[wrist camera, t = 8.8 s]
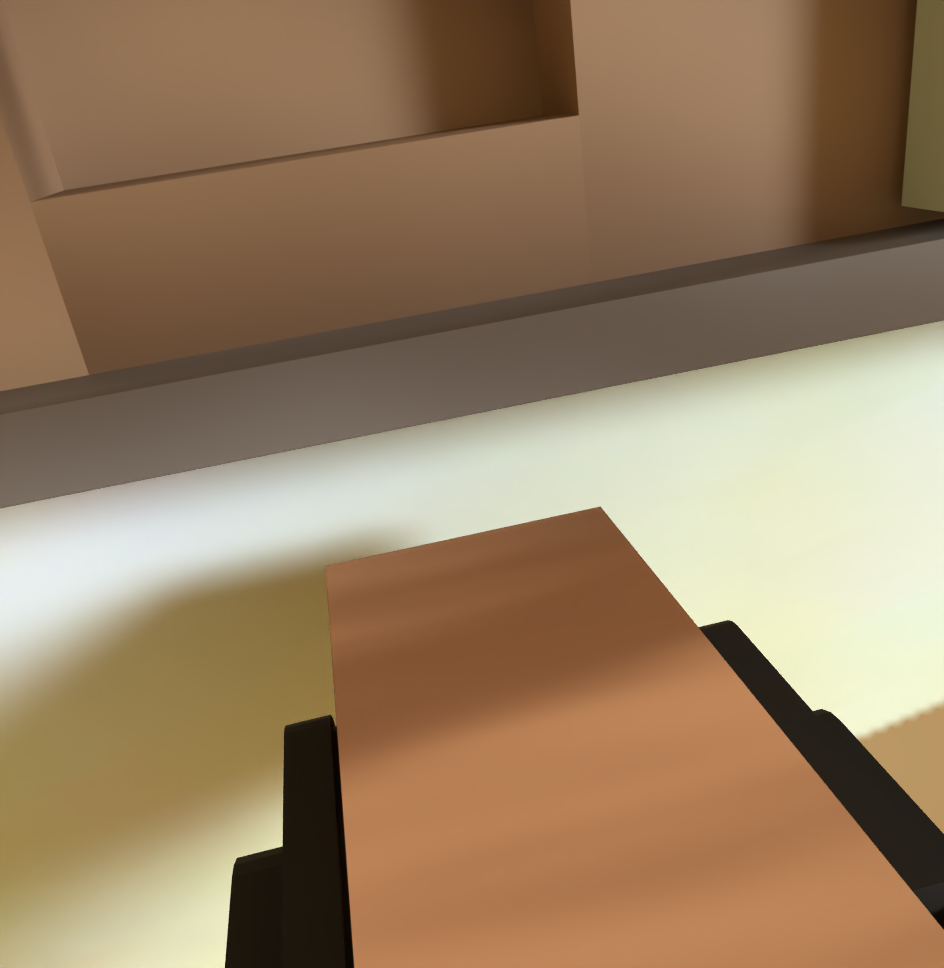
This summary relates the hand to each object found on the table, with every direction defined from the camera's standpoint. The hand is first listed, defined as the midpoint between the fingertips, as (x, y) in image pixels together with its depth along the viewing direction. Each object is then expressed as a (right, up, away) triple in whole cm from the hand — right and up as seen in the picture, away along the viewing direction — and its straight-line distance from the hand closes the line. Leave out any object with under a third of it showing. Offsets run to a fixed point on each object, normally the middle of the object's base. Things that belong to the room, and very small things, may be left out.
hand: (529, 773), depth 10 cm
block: (0, +1, +2) cm, 3 cm away
